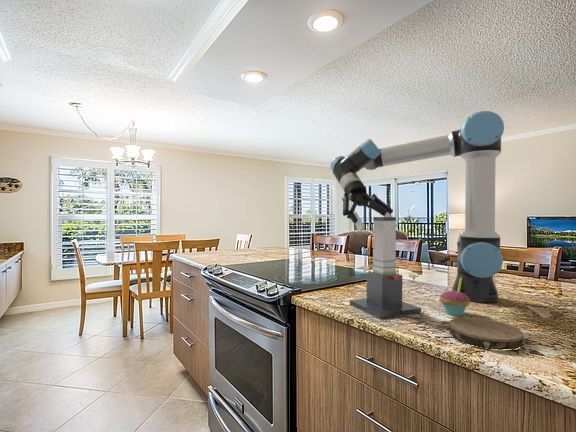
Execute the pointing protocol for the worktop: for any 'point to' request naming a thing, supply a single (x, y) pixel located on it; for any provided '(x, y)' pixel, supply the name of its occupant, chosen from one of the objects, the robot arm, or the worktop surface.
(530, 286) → the worktop surface
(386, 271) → the column
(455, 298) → the cupcake
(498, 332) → the wooden slice coaster
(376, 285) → the stand base
